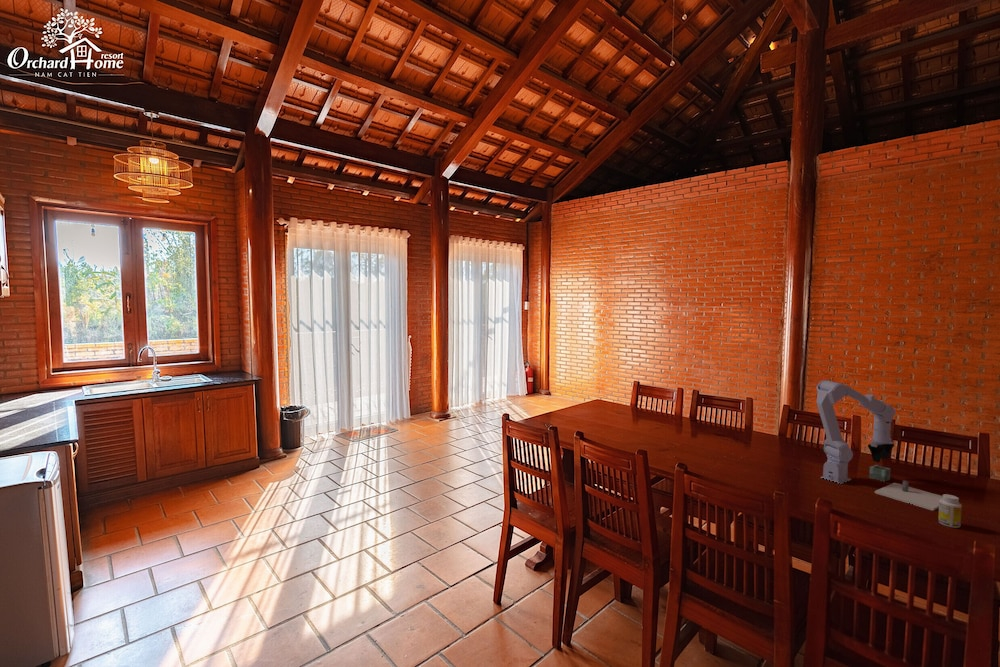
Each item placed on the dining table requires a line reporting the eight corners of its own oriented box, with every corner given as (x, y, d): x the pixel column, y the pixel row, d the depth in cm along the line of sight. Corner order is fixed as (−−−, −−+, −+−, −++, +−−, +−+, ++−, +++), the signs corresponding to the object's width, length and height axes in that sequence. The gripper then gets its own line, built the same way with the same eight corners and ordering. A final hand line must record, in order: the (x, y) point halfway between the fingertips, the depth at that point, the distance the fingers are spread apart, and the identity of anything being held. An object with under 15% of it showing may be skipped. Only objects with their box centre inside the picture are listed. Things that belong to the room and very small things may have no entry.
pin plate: (933, 510, 166) (933, 498, 166) (874, 492, 182) (875, 481, 182) (951, 500, 175) (952, 488, 174) (894, 484, 190) (895, 473, 190)
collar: (884, 482, 193) (884, 470, 193) (869, 477, 198) (869, 466, 197) (889, 479, 196) (890, 468, 195) (874, 475, 200) (875, 464, 200)
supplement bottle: (959, 524, 156) (961, 496, 155) (961, 530, 152) (963, 501, 151) (937, 519, 160) (939, 491, 159) (938, 524, 156) (940, 496, 155)
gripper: (885, 434, 188) (884, 465, 189) (900, 430, 195) (898, 460, 196) (865, 430, 195) (864, 460, 195) (880, 426, 202) (879, 455, 202)
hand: (880, 460), depth 196 cm, fingers open, 7 cm apart
